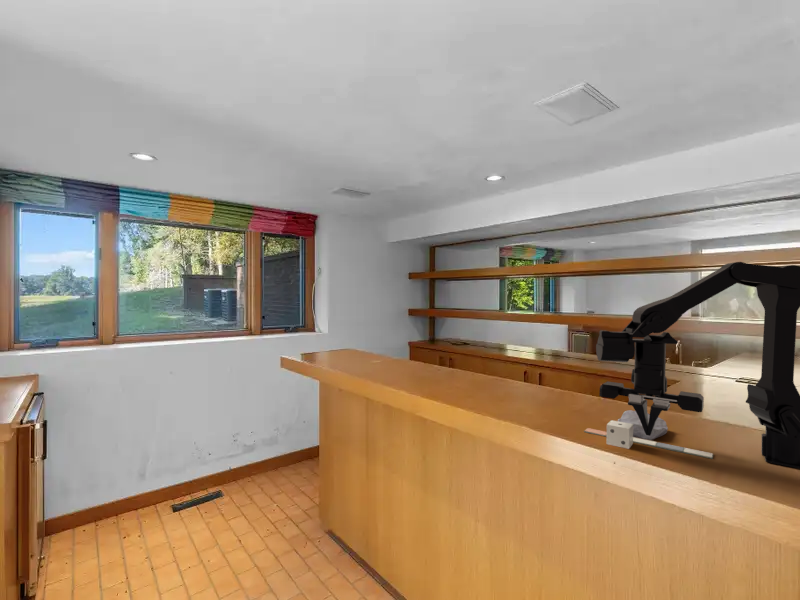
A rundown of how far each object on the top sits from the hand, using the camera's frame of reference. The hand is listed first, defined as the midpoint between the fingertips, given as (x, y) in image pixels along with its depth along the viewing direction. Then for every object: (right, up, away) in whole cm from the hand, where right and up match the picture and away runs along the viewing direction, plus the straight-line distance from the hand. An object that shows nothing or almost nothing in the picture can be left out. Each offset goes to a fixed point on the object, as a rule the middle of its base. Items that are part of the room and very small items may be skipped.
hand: (648, 435), depth 87 cm
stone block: (+6, -4, +12) cm, 14 cm away
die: (-4, -3, +4) cm, 6 cm away
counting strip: (+2, -3, +5) cm, 6 cm away
